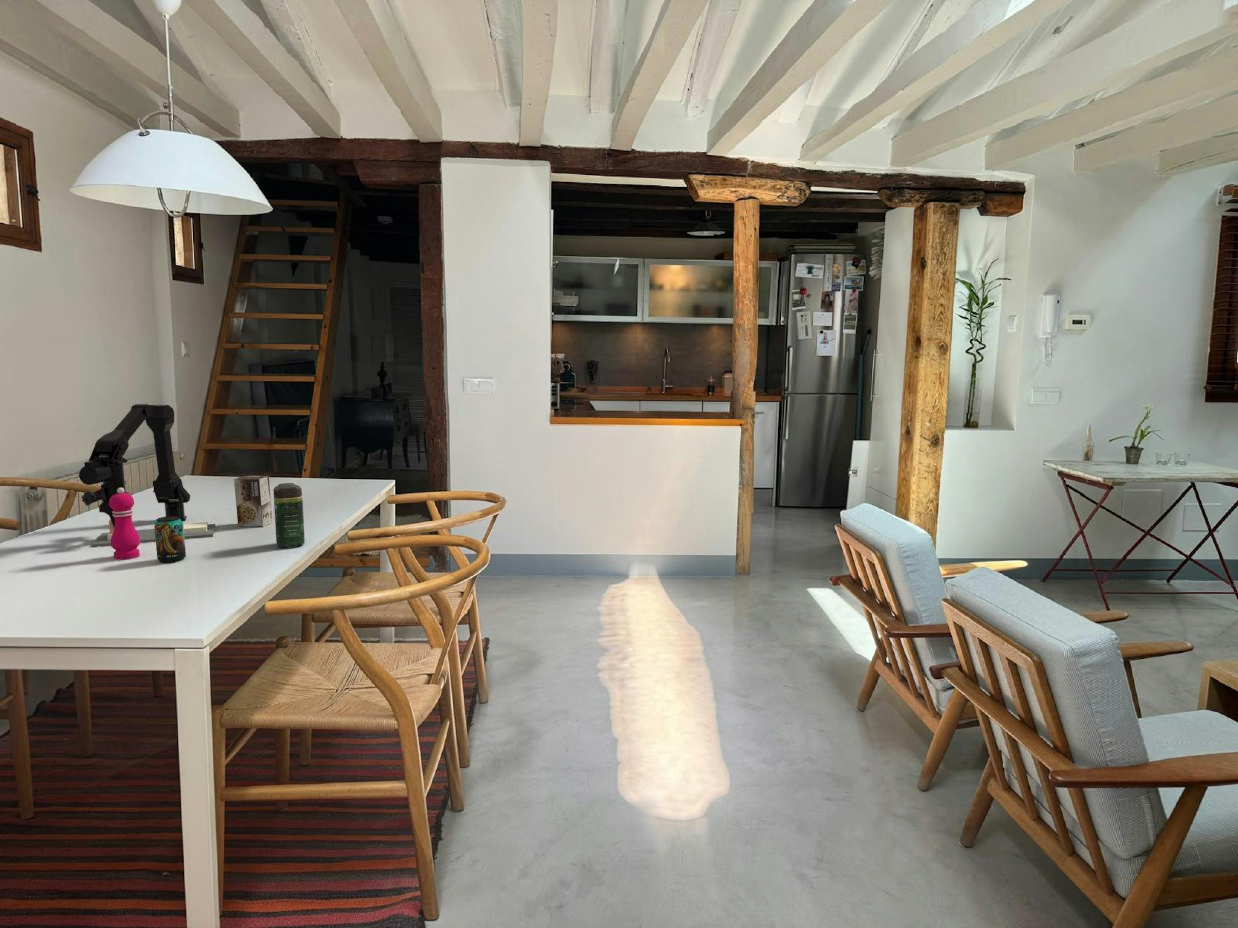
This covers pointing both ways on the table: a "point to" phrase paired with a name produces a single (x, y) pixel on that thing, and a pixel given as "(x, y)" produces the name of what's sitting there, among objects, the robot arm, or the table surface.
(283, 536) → the coffee jar
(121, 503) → the pepper mill
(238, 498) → the coffee box
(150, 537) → the mat
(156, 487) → the robot arm
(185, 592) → the table surface
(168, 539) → the beverage can
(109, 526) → the stub
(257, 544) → the table surface
